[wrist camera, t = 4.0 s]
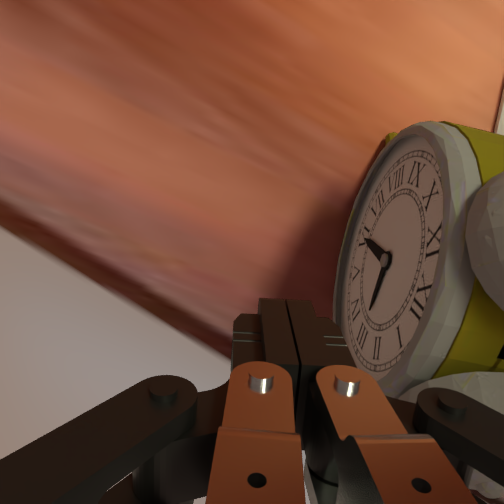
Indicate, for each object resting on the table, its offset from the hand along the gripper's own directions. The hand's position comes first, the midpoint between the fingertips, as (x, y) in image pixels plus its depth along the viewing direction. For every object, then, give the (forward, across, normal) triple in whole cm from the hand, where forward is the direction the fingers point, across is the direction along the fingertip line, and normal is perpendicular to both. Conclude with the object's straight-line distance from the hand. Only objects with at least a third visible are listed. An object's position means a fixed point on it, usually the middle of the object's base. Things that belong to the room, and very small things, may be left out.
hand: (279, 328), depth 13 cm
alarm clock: (+13, -8, 0) cm, 15 cm away
